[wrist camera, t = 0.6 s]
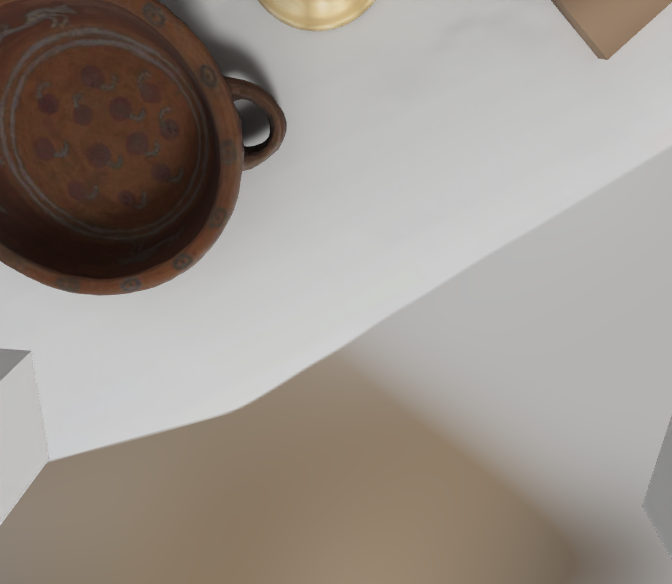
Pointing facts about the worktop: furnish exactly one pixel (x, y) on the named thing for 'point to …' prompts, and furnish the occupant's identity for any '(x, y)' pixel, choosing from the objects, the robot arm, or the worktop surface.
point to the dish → (116, 144)
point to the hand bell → (316, 12)
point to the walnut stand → (609, 21)
